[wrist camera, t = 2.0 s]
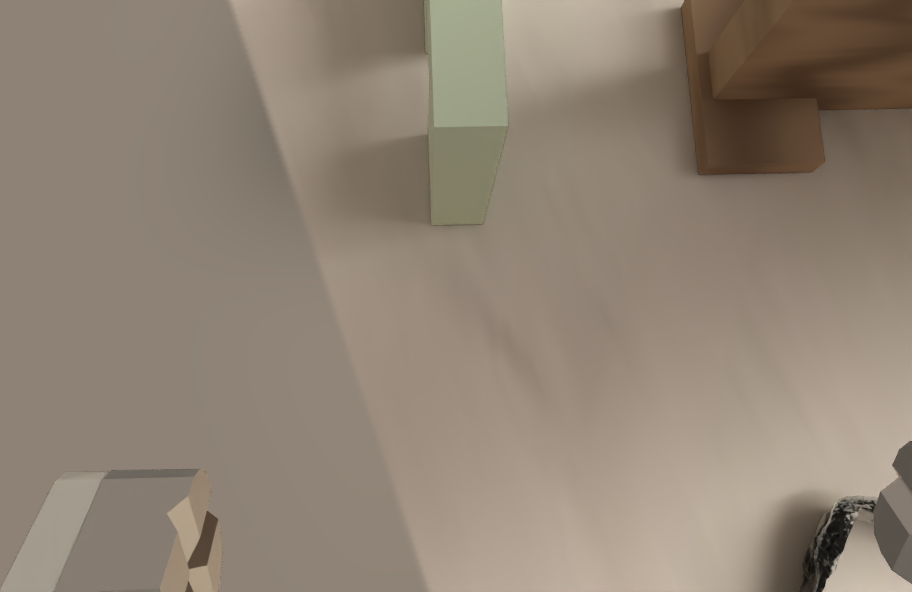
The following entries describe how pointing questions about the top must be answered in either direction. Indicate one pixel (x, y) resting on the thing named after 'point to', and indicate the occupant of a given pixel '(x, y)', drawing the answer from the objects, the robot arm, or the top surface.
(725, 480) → the top surface
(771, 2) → the walnut slotted board
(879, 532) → the robot arm
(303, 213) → the top surface
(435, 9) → the green slotted plate
